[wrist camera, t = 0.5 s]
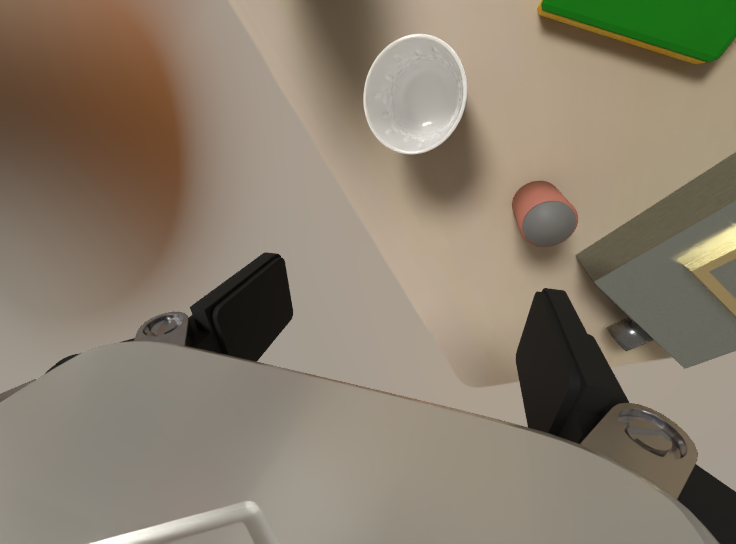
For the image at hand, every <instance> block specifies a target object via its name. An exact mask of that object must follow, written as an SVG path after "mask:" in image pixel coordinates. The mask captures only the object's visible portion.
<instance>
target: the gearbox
mask: <svg viewBox="0 0 736 544" xmlns="http://www.w3.org/2000/svg"><path fill="white" fill-rule="evenodd" d="M576 256H577V258H578V259H579V261H580V262H581V264H582V265H583V267H584V268H585V270H586V272H587V273H588V275H589V276H590V278H591V279H592V281H593V282H594V284H595V285H596V286H597V287H598V288H599V289H600V290H601V291H602V292H603V293H604V294H605V295H606V296H607V297H608V298H609V299H610V300H611V301H612V302H613V303H614V304H615V305H617V306H618V307H619V308H620V309H621V310H622V311H623V312H624V313H625V314H626V315H627V316H628V318H626V319H624V320H622V321H620V322H618V323H616V324H613V325H611V326H609V327H607V329H608V331H609V333H610V334H611V336H612V337H613V338H614V339H615V341H616V342H617V343H618V344H619V345H620V346H621V347H622V348H623V349H624V350H625V351H628V350H631V349H633V348H635V347H638V346H640V345H643V344H645V343H647V342H650V341H652V340H655V341H656V342H657V343H658V344H659V345H660V346H661V347H663V348H664V349H665V350H666V351H667V352H668V353H669V354H670V355H671V356H672V357H673V358H674V359H675V360H676V361H677V362H678V363H679V364H680V365H682V366H683V367H684V368H688V367H691V366H694V365H697V364H700V363H702V362H705V361H708V360H711V359H714V358H716V357H719V356H722V355H725V354H728V353H730V352H734V351H736V153H734V154H733V155H731V156H730V157H728V158H726V159H725V160H723V161H722V162H720V163H719V164H717V165H716V166H714V167H712V168H711V169H709V170H708V171H706V172H705V173H703V174H702V175H700V176H698V177H697V178H695V179H694V180H692V181H691V182H689V183H688V184H686V185H684V186H683V187H681V188H680V189H678V190H677V191H675V192H674V193H672V194H670V195H669V196H667V197H666V198H664V199H663V200H661V201H660V202H658V203H656V204H655V205H653V206H652V207H650V208H649V209H647V210H646V211H644V212H643V213H641V214H639V215H638V216H636V217H635V218H633V219H632V220H630V221H629V222H627V223H625V224H624V225H622V226H621V227H619V228H618V229H616V230H615V231H613V232H611V233H610V234H608V235H607V236H605V237H604V238H602V239H601V240H599V241H597V242H596V243H594V244H593V245H591V246H590V247H588V248H587V249H585V250H583V251H582V252H580V253H579V254H577V255H576Z"/></svg>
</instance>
